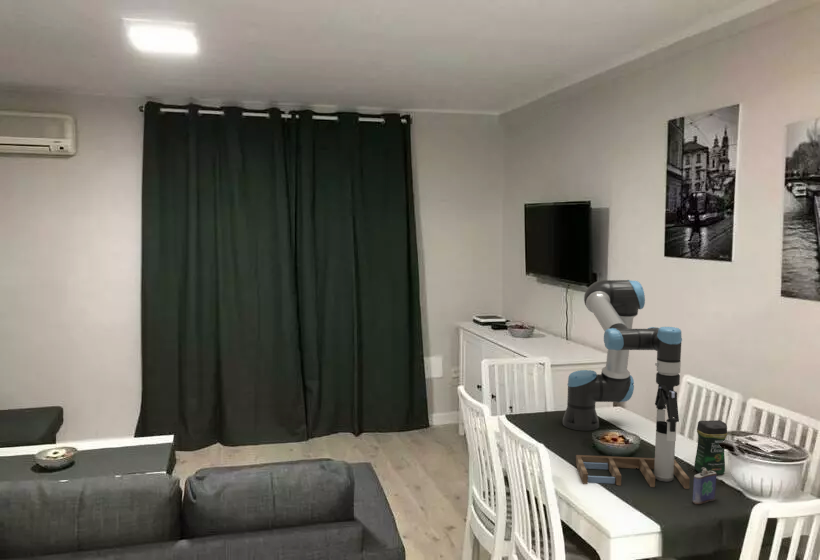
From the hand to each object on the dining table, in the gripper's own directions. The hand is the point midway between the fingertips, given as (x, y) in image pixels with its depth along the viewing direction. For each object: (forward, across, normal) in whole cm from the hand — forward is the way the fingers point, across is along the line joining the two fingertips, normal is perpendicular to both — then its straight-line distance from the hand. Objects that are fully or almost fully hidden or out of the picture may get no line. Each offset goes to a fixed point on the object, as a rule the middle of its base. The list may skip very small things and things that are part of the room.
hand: (665, 434), depth 228 cm
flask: (+16, +16, +8) cm, 25 cm away
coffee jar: (+16, -8, +18) cm, 25 cm away
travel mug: (+16, 0, 0) cm, 16 cm away
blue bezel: (+16, 0, -22) cm, 27 cm away
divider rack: (+16, 0, -11) cm, 19 cm away
